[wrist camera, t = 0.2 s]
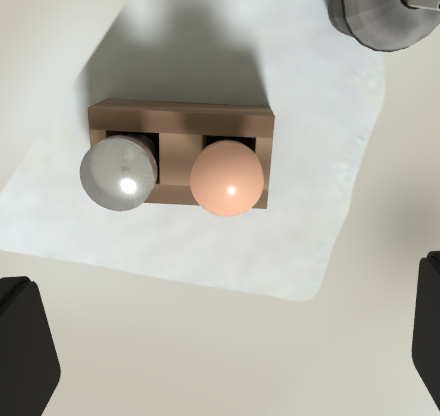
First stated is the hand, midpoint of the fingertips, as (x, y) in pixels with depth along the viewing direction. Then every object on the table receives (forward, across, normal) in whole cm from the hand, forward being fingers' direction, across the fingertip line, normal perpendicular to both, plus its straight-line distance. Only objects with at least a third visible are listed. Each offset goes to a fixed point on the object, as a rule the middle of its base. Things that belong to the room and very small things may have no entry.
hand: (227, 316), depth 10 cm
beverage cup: (+36, -12, -9) cm, 39 cm away
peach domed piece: (+32, +1, +4) cm, 32 cm away
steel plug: (+32, +10, +3) cm, 33 cm away
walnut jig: (+36, +5, +3) cm, 37 cm away
